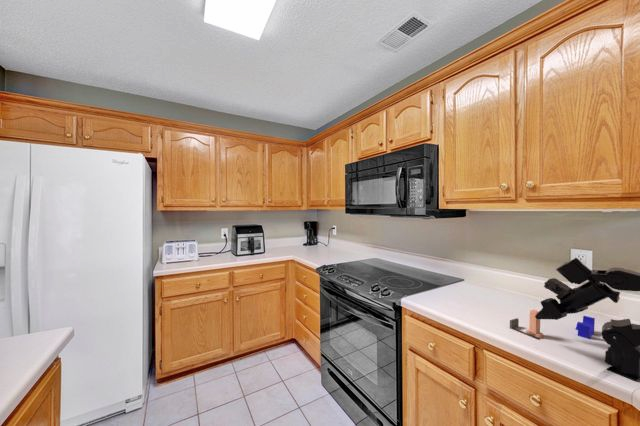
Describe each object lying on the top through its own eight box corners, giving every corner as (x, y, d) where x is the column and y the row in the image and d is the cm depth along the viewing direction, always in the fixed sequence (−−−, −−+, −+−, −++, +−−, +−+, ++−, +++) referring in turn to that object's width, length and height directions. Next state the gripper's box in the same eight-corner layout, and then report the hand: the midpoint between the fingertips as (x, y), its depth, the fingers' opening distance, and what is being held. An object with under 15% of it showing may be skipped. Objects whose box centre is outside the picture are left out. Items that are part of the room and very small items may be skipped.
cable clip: (577, 328, 105) (578, 314, 104) (594, 333, 101) (594, 318, 101) (571, 338, 97) (572, 322, 97) (589, 343, 94) (589, 326, 93)
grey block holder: (547, 341, 94) (547, 329, 94) (539, 344, 92) (539, 331, 92) (516, 329, 103) (517, 318, 103) (509, 331, 101) (509, 320, 101)
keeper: (543, 336, 95) (543, 312, 95) (538, 338, 94) (539, 313, 93) (530, 331, 99) (531, 308, 98) (526, 333, 97) (526, 309, 97)
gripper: (577, 270, 92) (539, 291, 102) (549, 276, 84) (511, 298, 95) (608, 299, 85) (563, 319, 95) (580, 309, 77) (535, 329, 88)
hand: (543, 315), depth 93 cm, fingers open, 9 cm apart
